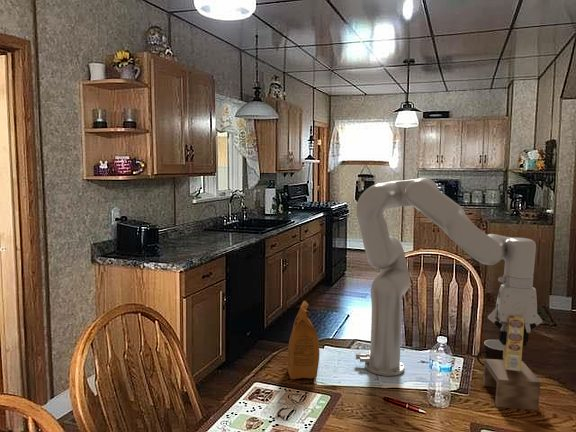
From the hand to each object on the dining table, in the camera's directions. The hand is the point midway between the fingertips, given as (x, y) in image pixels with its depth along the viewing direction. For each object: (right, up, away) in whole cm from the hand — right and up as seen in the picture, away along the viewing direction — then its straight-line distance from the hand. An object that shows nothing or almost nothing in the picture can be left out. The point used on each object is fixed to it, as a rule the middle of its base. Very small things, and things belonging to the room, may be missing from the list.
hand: (512, 343), depth 144 cm
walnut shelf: (0, -16, +2) cm, 16 cm away
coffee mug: (0, -14, +16) cm, 21 cm away
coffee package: (-60, -13, +15) cm, 63 cm away
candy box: (0, -7, +1) cm, 7 cm away
